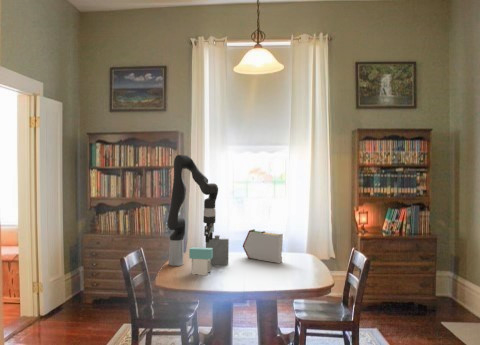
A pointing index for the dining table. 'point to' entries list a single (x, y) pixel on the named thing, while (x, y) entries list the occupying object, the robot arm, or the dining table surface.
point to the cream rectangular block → (200, 266)
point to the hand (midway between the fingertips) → (209, 240)
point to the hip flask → (219, 250)
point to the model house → (263, 246)
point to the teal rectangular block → (200, 253)
